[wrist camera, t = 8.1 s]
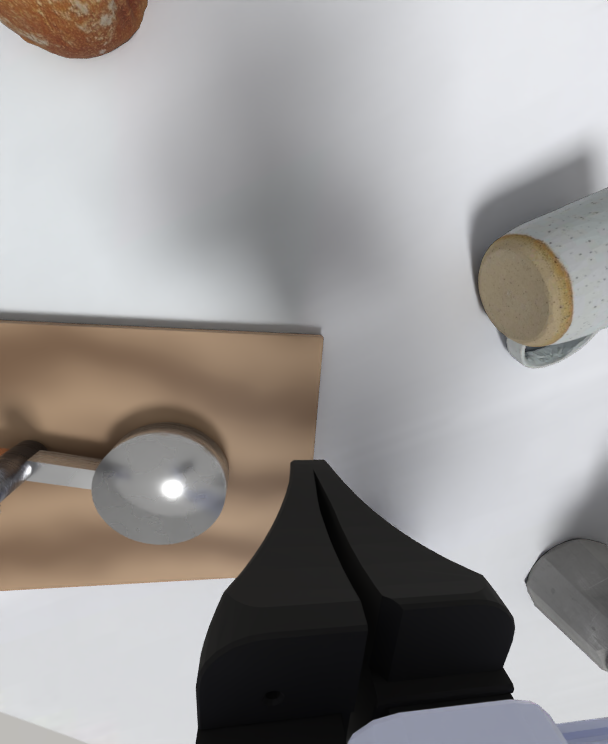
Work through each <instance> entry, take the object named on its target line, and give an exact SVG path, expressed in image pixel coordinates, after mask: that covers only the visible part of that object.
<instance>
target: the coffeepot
mask: <svg viewBox="0 0 608 744" xmlns="http://www.w3.org/2000/svg"><path fill="white" fill-rule="evenodd" d="M526 585H527V589H528V593H529V594H530V596H531V598H532V600H533V602H534V605H535V606H536V607H537V608H538V609H539V610H540V611H541V612H542V613H543V614H544V615H545V616H546V617H547V618H548V619H549V620H551V621H552V622H553V623H554V624H555V625H556V626H557V627H558V628H559V629H560V630H561V631H562V632H563V633H564V634H565V635H566V636H567V637H568V638H569V639H570V640H572V641H573V642H574V643H575V644H576V645H577V646H578V647H579V648H580V649H581V650H582V651H583V652H584V653H585V654H586V655H587V656H588V657H589V658H590V659H591V660H593V661H594V662H595V663H596V664H597V665H598V666H599V667H600V668H601V669H602V670H605V671H607V672H608V546H607V545H606V544H603V543H599V542H596V541H592V540H589V539H576V540H571V541H567V542H564V543H562V544H559V545H557V546H555V547H554V548H552V549H550V550H549V551H548V552H546V553H545V554H544V555H543V556H542V557H541V558H540V559H539V560H538V561H537V562H536V563H535V565H534V566H533V567H532V569H531V571H530V573H529V576H528V579H527V584H526Z"/></svg>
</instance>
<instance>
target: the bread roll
mask: <svg viewBox="0 0 608 744" xmlns="http://www.w3.org/2000/svg"><path fill="white" fill-rule="evenodd" d="M147 2H148V0H0V21H1V22H2V23H3V24H4V25H5V26H6V27H8V28H9V29H11V30H12V31H14V32H15V33H17V34H18V35H20V37H21V38H22V39H24V40H25V41H26V42H28V43H31V44H33V45H36V46H39V47H41V48H43V49H45V50H47V51H49V52H51V53H54V54H57V55H59V56H62V57H66V58H86V59H87V58H92V57H97V56H101V55H103V54H106V53H109V52H111V51H112V50H114V49H116V48H117V47H119V46H120V45H122V44H124V43H125V42H127V41H128V40H129V39H130V37H131V36H132V35H133V34H134V33H135V32H136V31H137V30H138V28H139V27H140V24H141V22H142V19H143V14H144V11H145V9H146V7H147Z"/></svg>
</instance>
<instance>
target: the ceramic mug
mask: <svg viewBox="0 0 608 744" xmlns="http://www.w3.org/2000/svg"><path fill="white" fill-rule="evenodd" d="M478 286H479V294H480V298H481V301H482V304H483V307H484V309H485V312H486V313H487V315H488V317H489V319H490V320H491V322H492V323H493V324H494V325H495V327H496V328H497V329H498V330H499V331H500V332H501V333H503V334H504V335H505V336H506V337H507V341H506V343H507V349H508V351H509V353H510V355H511V356H512V357H513V358H514V359H516V360H517V361H518V362H519V363H521V364H522V365H524V366H526V367H529V368H541V367H546V366H549V365H553V364H555V363H558V362H560V361H562V360H564V359H565V358H567V357H569V356H571V355H572V354H574V353H575V352H577V351H578V350H580V349H581V348H582V347H583V346H584V345H586V344H587V343H588V342H589V341H590V340H591V339H592V338H593V337H594V336H595V335H596V333H597V332H598V331H599V330H602V329H605V328H608V187H607V188H605V189H603V190H601V191H599V192H596V193H594V194H592V195H589V196H587V197H584V198H582V199H580V200H577V201H575V202H572V203H570V204H568V205H566V206H564V207H561V208H559V209H557V210H555V211H553V212H550V213H548V214H545V215H543V216H540V217H538V218H535V219H533V220H531V221H528V222H526V223H524V224H522V225H520V226H518V227H516V228H514V229H513V230H511V231H509V232H508V233H506V234H505V235H503V236H502V237H500V238H499V239H497V240H496V241H495V242H494V243H493V244H492V245H491V246H490V247H489V248H488V250H487V251H486V253H485V255H484V257H483V259H482V262H481V266H480V269H479V275H478ZM526 346H531V347H541V346H547V347H544V348H541V349H537V350H534V351H528V352H525V348H526Z"/></svg>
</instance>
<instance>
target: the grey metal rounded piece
mask: <svg viewBox="0 0 608 744" xmlns="http://www.w3.org/2000/svg"><path fill="white" fill-rule="evenodd" d="M228 480H229V468H228V463H227V460H226V458H225V455H224V453H223V452H222V450H221V449H220V447H219V446H218V445H217V444H216V443H215V441H213V440H212V439H211V438H210V437H209V436H207V435H206V434H204V433H203V432H201V431H199V430H197V429H195V428H193V427H190V426H187V425H183V424H179V423H171V422H161V423H153V424H148V425H145V426H142V427H139V428H137V429H135V430H133V431H131V432H130V433H128V434H127V435H125V436H124V437H123V438H122V439H121V440H120V441H119V442H118V443H117V444H116V445H115V446H114V447H113V449H112V450H111V451H110V452H109V453H108V454H107V455H106V456H105V457H104V459H97V458H90V457H84V456H77V455H71V454H64V453H58V452H51V451H48V450H47V448H46V447H45V446H44V445H43V444H41V443H39V442H37V441H33V440H25V441H22V442H20V443H18V444H17V445H15V446H14V447H12V448H11V449H7V448H0V502H1V501H3V500H4V499H5V498H6V497H7V496H9V495H10V494H11V493H12V492H13V491H14V490H16V489H17V488H18V487H19V486H20V485H21V484H23V483H24V482H25V481H32V482H39V483H47V484H54V485H61V486H69V487H76V488H83V489H91V493H92V499H93V502H94V505H95V508H96V510H97V512H98V513H99V515H100V516H101V518H102V519H103V520H104V521H105V522H106V523H107V524H108V525H109V526H110V527H111V528H112V529H113V530H115V531H116V532H118V533H119V534H121V535H123V536H125V537H127V538H129V539H132V540H135V541H138V542H142V543H147V544H155V545H167V544H175V543H180V542H184V541H187V540H190V539H192V538H194V537H196V536H198V535H200V534H201V533H203V532H205V531H206V530H207V529H208V528H209V527H211V525H212V524H213V523H214V522H215V521H216V520H217V518H218V517H219V515H220V513H221V511H222V509H223V506H224V502H225V497H226V492H227V486H228Z"/></svg>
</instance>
